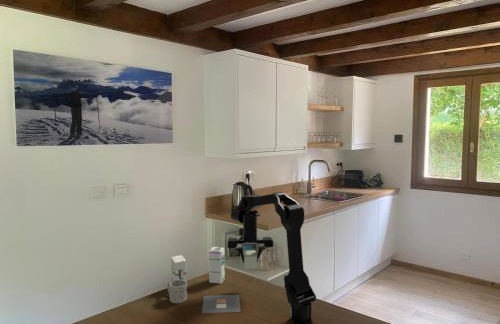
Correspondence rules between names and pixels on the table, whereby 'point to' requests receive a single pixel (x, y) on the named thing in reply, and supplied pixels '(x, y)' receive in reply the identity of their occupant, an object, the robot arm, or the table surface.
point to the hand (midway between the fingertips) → (250, 262)
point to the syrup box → (216, 265)
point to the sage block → (250, 259)
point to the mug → (177, 291)
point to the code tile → (221, 304)
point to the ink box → (179, 268)
